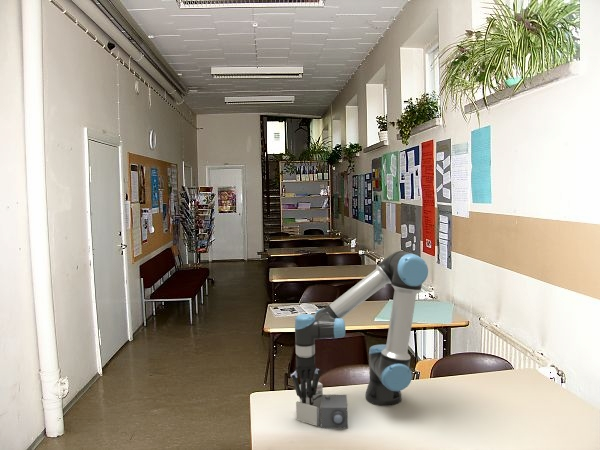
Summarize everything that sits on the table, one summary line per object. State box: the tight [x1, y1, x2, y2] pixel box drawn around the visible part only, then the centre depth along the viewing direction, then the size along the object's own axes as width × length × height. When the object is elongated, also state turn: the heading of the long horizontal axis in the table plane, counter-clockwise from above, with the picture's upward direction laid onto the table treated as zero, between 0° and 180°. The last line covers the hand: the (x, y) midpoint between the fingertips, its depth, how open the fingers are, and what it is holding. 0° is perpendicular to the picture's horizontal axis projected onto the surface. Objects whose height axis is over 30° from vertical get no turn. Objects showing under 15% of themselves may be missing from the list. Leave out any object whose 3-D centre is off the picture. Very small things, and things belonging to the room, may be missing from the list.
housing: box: [320, 394, 349, 429], centre depth 196 cm, size 10×14×9 cm
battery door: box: [295, 401, 321, 427], centre depth 196 cm, size 1×11×7 cm, turn 53°
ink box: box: [299, 380, 324, 408], centre depth 206 cm, size 8×5×12 cm, turn 123°
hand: (306, 412), depth 199 cm, fingers closed
